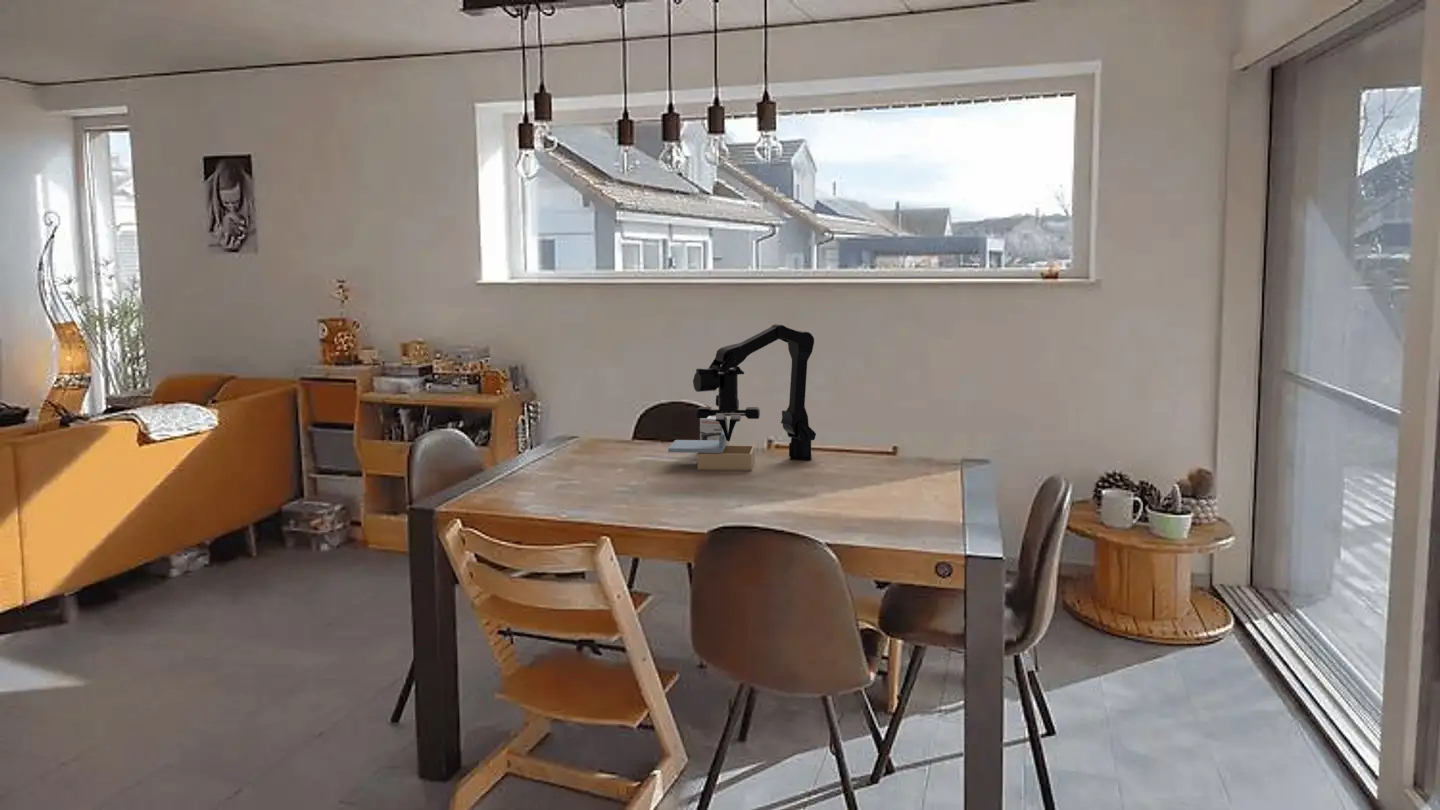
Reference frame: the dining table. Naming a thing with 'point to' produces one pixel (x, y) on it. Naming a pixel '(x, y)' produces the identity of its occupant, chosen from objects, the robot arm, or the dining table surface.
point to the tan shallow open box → (728, 459)
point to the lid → (699, 445)
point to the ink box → (711, 428)
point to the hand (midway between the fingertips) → (728, 441)
